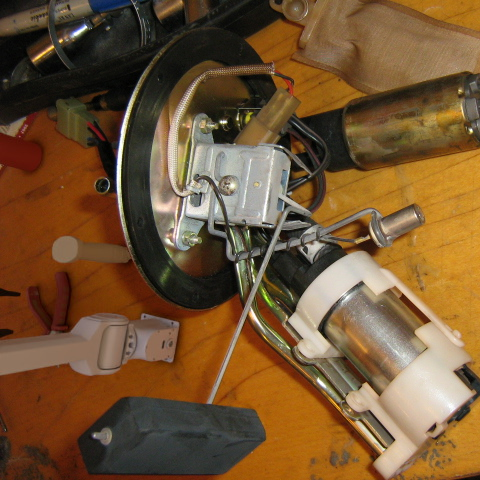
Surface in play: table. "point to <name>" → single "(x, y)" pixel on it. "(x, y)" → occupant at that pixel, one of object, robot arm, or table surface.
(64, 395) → the table surface
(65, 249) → the handle
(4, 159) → the red cylinder
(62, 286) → the pliers
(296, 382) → the table surface
